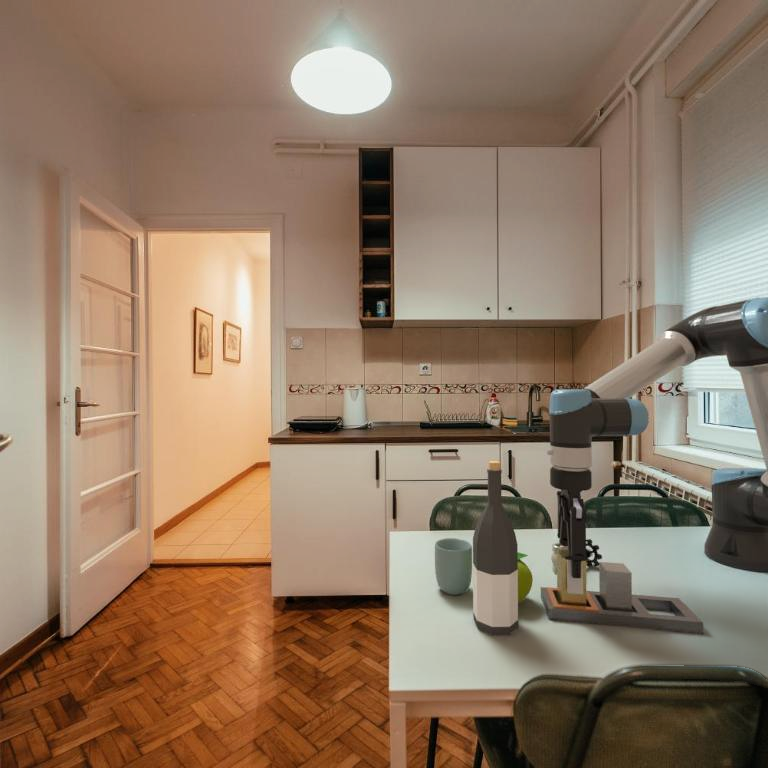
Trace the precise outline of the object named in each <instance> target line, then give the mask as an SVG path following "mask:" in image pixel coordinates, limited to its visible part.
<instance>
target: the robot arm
mask: <svg viewBox="0 0 768 768" xmlns="http://www.w3.org/2000/svg"><path fill="white" fill-rule="evenodd" d="M718 356H722V357H723V356H726V358H727V361H728V362H727V363H728V366H729V368H731V369H733V370H735V371H737V372H739V374H740V377H741V381H742V384H743V388H744V392H745V396H746V399H747V402H748V407H749V410H750V414H751V417H752V421H753V424H754V428H755V432H756V436H757V439H758V442H759V447H760V450H761V454H762V457H763V461H764V465H765V468H757V467H729V468H728V467H725V468H717V469H715V470H714V471H713V472H712V477H711V509H712V511H711V512H712V513H711V515H712V525H711V528H710V530H709V533H708V535H707V537H706V539H705V541H704V548H703V549H704V551H703V552H704V555H705V556H706V557H708V558H709V559H711V560H713V561H715V562H717V563H720V564H723V565H725V566H728V567H732V568H737V569H742V570H745V571H746V570H747V571H753V572H763V573H765V572H766V573H767V572H768V296H766V297H765V296H764V297H755V298H750V299H746V300H745V299H744V300H741V301H736V302H731V303H726V304H722V305H716V306H715V305H714V306H711V307H707V308H703V309H702V310H699V311H696V312H695V313H692V314H691V315H689V316H688V317H686V318H684V319H683V320H681V321H679V322H678V323H676V324H674V325H673V326H671V327H669V328H667V329H665V331H663V332H662V333H660V334H658V337H657V339H656V341H655V342H654V343H652V344H651V345H649V346H648V347H646V348H644V349H642V350H641V351H640V352H638V353H637V354H635V355H633V356H632V357H630V358H629V359H627V360H625V362H623V363H621V364H619V365H618V366H616V367H615V368H613V369H611V370H610V371H609V372H607V373H606V374H604V375H603V376H601V377H598V378H597V379H596V380H595V381H593V382H592V383H590V384H588V385H586V386H585V387H584V388H581V389H578V388H576V389H553V390H552V392H550V398H549V409H548V414H549V441H550V442H549V444H550V446H549V447H550V449H547V450H546V451H547V452H546V454H547V455H549V457H550V461H549V462H550V464H551V467H550V469H549V484H550V485H551V487H553V488H554V489H558V490H557V491H556V496H557V534H556V537H557V539H559V540H558V543H560V544H561V545H562V546H560V549H561V550H568V556H564V557H565V560H567V592H568V593H572V594H583V561H586V559H587V557H586V549H587V546H586V543H587V542H586V540H587V523H586V522H587V520H586V519H587V512H588V509H587V508H586V507H585V501H584V498H582V496H581V493H582V492H583V491H584V492H586V491H589V490H590V489H591V488H592V487H593V483H592V481H593V480H592V479H593V478H592V475H593V474H592V471H591V469H590V468H591V467H592V466H593V461H592V460H593V459H592V458H593V457H592V454H593V452H592V450H593V449H592V446H593V445H592V441H593V439H592V437H595V438H597V437H630V436H639V435H641V434H642V433H644V432H645V431H646V429H647V428H648V425H649V422H650V421H649V417H650V416H649V410H648V408H647V407H646V405H645V404H644V403H643V402H642V401H641V400H639V399H635V398H632V397H633V396H635V395H636V394H638V393H639V392H641V391H642V390H644V389H646V388H648V386H650V385H652V384H654V383H655V382H656V381H658V380H659V379H661V378H662V377H664V376H666V375H667V374H668V373H670V372H672V371H673V370H675V369H677V368H678V367H686V366H689V365H691V364H692V363H694V362H695V361H698V360H701V359H704V358H710V357H718Z"/></svg>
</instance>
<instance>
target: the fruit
mask: <svg viewBox="0 0 768 768" xmlns="http://www.w3.org/2000/svg"><path fill="white" fill-rule="evenodd" d="M525 557H528V554H525V553H521V552H518V605H519V604H520V603H522V602H523V601H524V600H525V599H526V598H527V596H528V595H530V594H529V593H530V591H531V590H532V586H533V573H532V571H531V569H530V568H529V566H528V565H527V564H526V563H525V562H524V561H522V559H523V558H525Z"/></svg>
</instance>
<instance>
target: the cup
mask: <svg viewBox="0 0 768 768" xmlns="http://www.w3.org/2000/svg"><path fill="white" fill-rule="evenodd" d="M434 569H435V571H434V573H435V579H436V583H437V586H438V587H439V588H440V590H441V591H442V592H444V593H445V594H448V595H451V596H458V595H462V594H464V593H466V592H467V591H468V590H469V588H470V585H471V583H472V579H473V544H472V543H470V542H469V541H467V540H465V539H462V538H456V537H453V538H452V537H447V538H446V537H445V538H442V539H438V540H437V541H435V543H434Z"/></svg>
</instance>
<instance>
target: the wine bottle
mask: <svg viewBox="0 0 768 768" xmlns="http://www.w3.org/2000/svg"><path fill="white" fill-rule="evenodd" d="M502 472H503V470H502V469H501V462H500V461H498V460H490V461H488V468H487V469H486V473H487V503H486V504H485V507H484V509H483V510H482V512H481V514H480V516H479V517H478V520H477V522H476V526H475V528H474V533H473V536H472V537H473V538H472V601H473V602H472V604H473V605H472V609H473V610H472V612H473V615H472V616H473V621H474V623H475V626H476V628H477V630H479V631H482V632H484V633H486V634H489V635H490V636H510V635H511V634H512V633H514V632H515V631H516V630H517V629H518V627H519V604H518V553H519V552H518V549H519V548H518V547H519V546H518V541H517V536H516V531H515V529H514V526H513V523H512V520H510V518H509V516H508V514H507V512H506V510H505V508H504V506H503V503H502Z"/></svg>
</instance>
